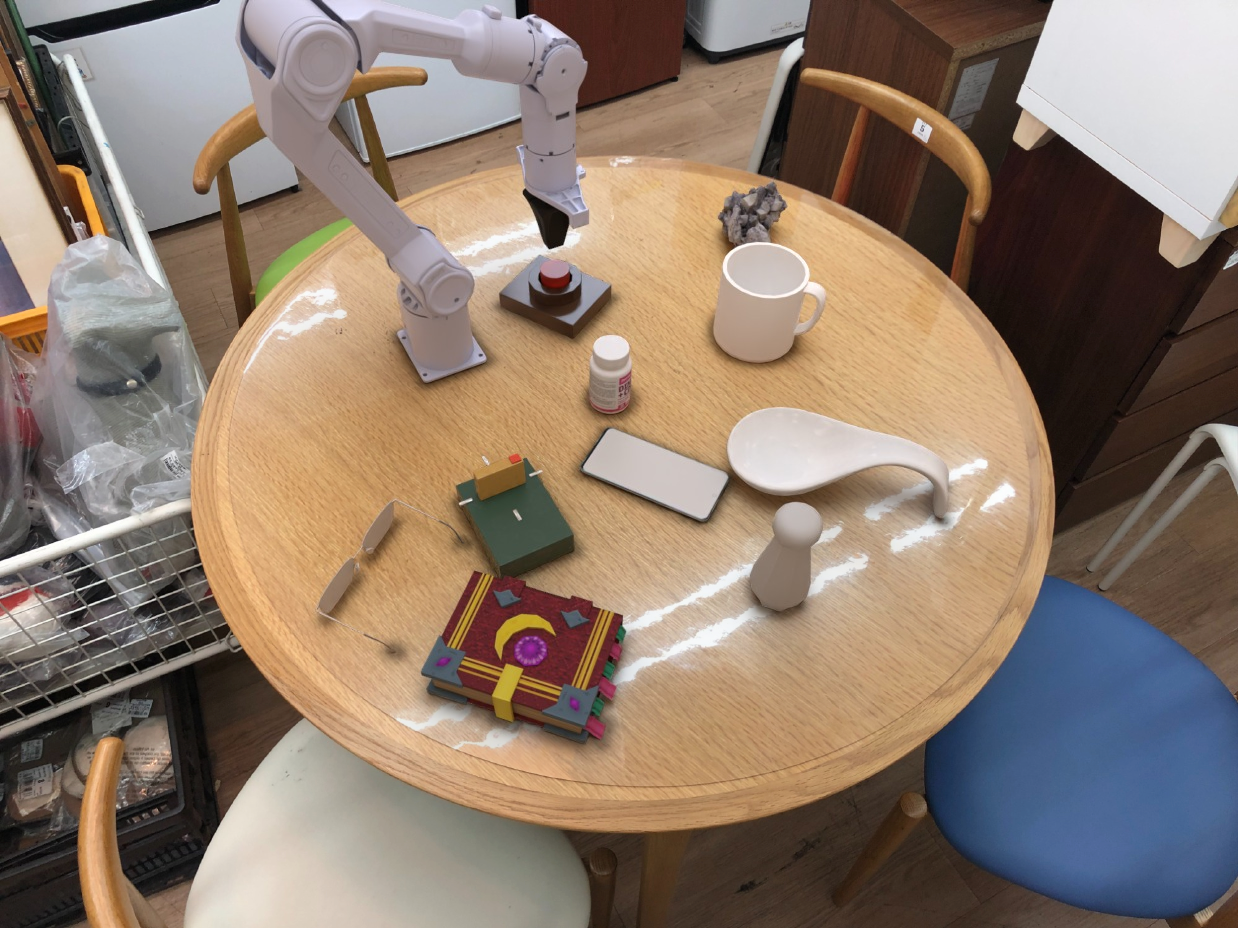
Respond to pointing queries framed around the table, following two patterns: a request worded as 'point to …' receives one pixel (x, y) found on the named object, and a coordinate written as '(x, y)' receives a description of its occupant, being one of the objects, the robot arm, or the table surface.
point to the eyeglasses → (347, 569)
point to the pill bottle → (610, 374)
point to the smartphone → (656, 473)
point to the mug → (763, 301)
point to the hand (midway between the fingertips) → (554, 244)
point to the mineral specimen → (751, 214)
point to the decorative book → (528, 656)
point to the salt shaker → (787, 557)
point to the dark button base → (556, 298)
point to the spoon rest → (821, 453)
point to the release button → (555, 274)
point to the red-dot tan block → (499, 476)
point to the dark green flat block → (517, 524)
